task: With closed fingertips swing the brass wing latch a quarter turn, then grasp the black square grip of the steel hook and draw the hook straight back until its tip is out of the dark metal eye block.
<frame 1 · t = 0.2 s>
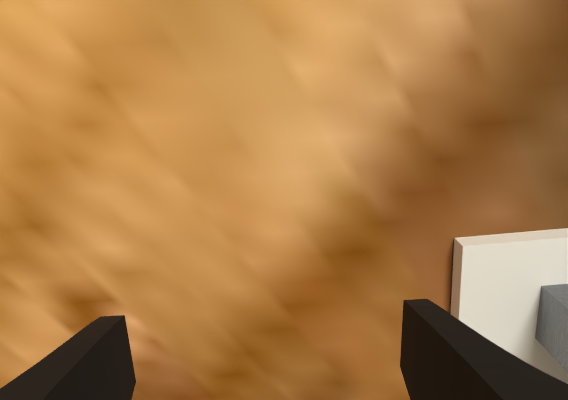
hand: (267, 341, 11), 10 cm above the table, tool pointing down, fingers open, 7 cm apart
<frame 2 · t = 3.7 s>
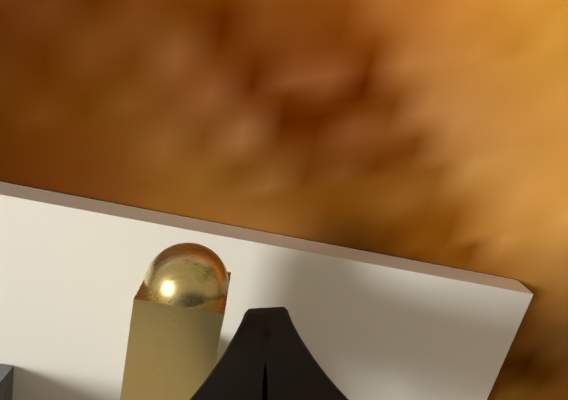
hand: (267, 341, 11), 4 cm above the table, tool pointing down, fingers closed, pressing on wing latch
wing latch: (169, 386, 10), point 5 cm above the table, hinge at 0.0°, touching gripper
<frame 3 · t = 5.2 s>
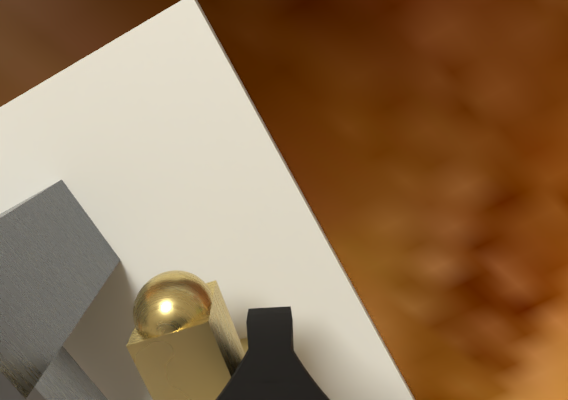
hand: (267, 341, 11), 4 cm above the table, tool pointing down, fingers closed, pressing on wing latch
board: (167, 386, 17), on the table
eye block: (11, 264, 14), resting on board
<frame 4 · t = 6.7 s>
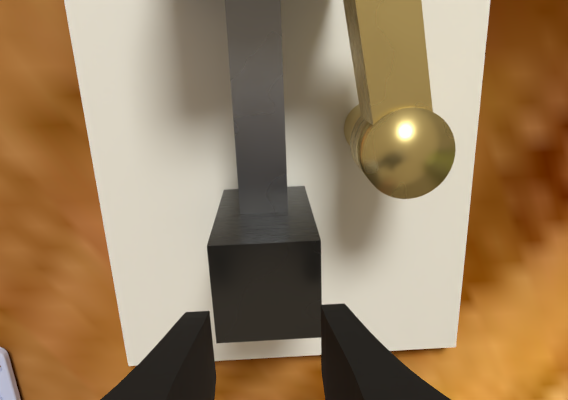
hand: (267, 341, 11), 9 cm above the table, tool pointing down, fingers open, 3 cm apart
board: (284, 127, 19), on the table
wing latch: (389, 77, 14), point 5 cm above the table, hinge at 99.8°, touching eye block
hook: (256, 77, 15), point 4 cm above the table, slide at 0.0 cm
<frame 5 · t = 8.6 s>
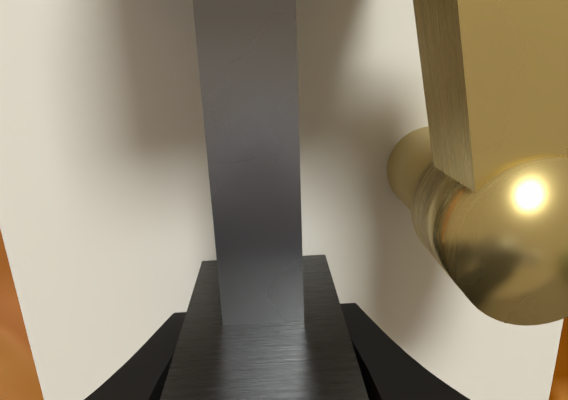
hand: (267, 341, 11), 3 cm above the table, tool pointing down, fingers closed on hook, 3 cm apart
board: (294, 164, 13), on the table
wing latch: (498, 97, 7), point 5 cm above the table, hinge at 100.8°, touching eye block
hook: (250, 95, 8), point 4 cm above the table, slide at 0.0 cm, touching gripper
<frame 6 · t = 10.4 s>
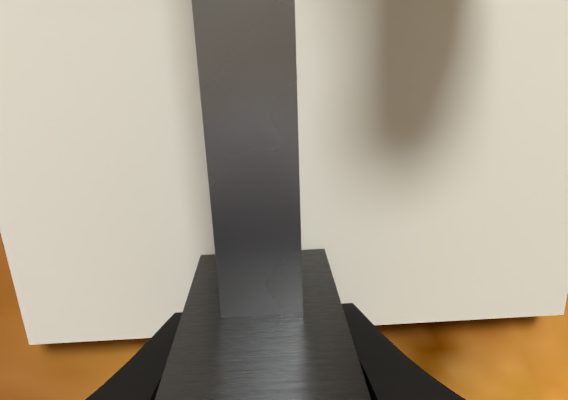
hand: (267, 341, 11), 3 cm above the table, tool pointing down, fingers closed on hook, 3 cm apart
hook: (248, 85, 8), point 4 cm above the table, slide at 6.0 cm, touching gripper
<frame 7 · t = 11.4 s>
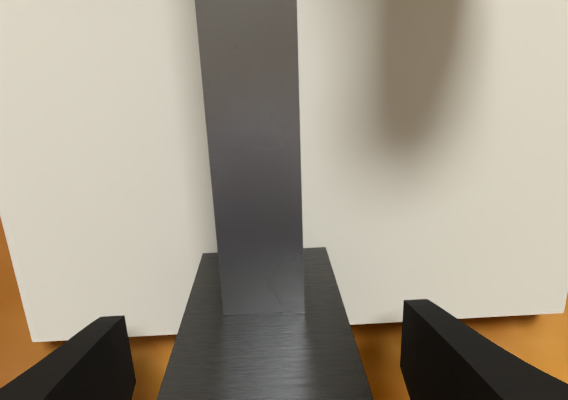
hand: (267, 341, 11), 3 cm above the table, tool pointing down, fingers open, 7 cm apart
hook: (251, 84, 8), point 4 cm above the table, slide at 6.0 cm
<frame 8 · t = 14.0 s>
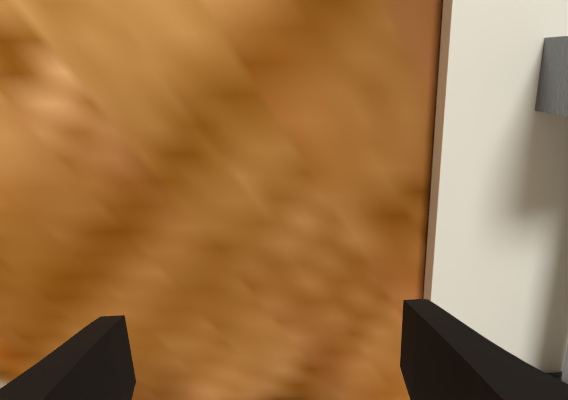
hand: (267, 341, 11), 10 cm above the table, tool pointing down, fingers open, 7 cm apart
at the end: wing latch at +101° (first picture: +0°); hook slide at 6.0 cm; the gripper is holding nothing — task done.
